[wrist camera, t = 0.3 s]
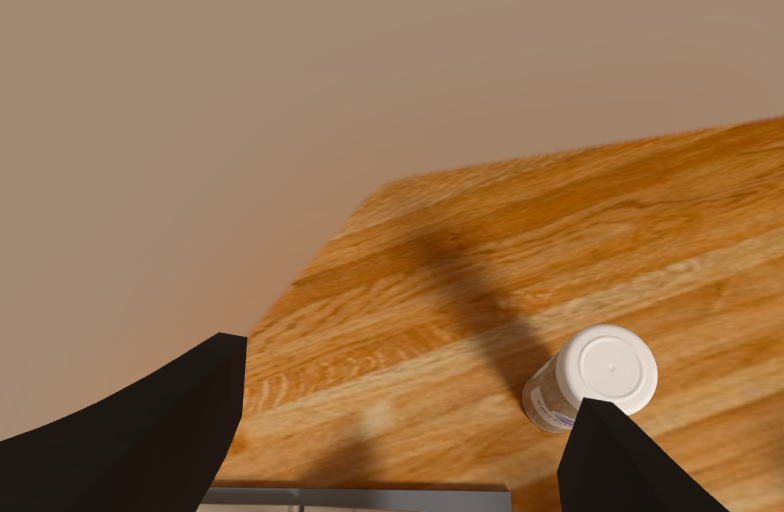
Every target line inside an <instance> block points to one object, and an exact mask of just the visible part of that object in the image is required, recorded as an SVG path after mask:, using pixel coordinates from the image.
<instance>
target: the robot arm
mask: <svg viewBox="0 0 784 512" xmlns="http://www.w3.org/2000/svg"><path fill="white" fill-rule="evenodd" d="M246 350H247V337H243V336H237V335H231V334H225V333H220V332H219V333H217V334H215V335H214V336H212V337H210V338H209V339H207V340H206V341H204V342H202V343H201V344H199V345H197V346H196V347H194V348H193V349H191V350H189V351H188V352H186V353H185V354H183V355H181V356H180V357H178V358H177V359H175V360H173V361H171V362H170V363H168V364H166V365H165V366H163V367H161V368H160V369H158V370H157V371H155V372H153V373H151V374H150V375H148V376H146V377H144V378H142V379H140V380H139V381H137V382H135V383H133V384H131V385H129V386H127V387H126V388H124V389H122V390H120V391H118V392H116V393H114V394H112V395H111V396H109V397H107V398H105V399H103V400H101V401H99V402H97V403H95V404H93V405H90V406H88V407H86V408H84V409H82V410H80V411H77V412H75V413H73V414H70V415H68V416H66V417H63V418H61V419H59V420H56V421H54V422H52V423H49V424H47V425H44V426H42V427H39V428H37V429H34V430H31V431H28V432H25V433H23V434H20V435H17V436H14V437H12V438H9V439H6V440H3V441H0V512H196V511H197V509H198V507H199V505H200V503H201V502H202V500H203V498H204V496H205V494H206V492H207V491H208V489H209V487H210V485H211V483H212V481H213V480H214V478H215V476H216V474H217V472H218V470H219V469H220V467H221V465H222V463H223V461H224V459H225V457H226V455H227V452H228V450H229V447H230V445H231V443H232V440H233V438H234V435H235V432H236V430H237V427H238V425H239V422H240V419H241V417H242V409H243V394H244V379H245V364H246ZM557 476H558V484H559V493H560V500H561V507H562V512H729V511H728V510H727V509H726V508H725V507H724V506H723V505H721V504H720V503H719V502H718V501H717V500H716V499H715V498H713V497H712V496H711V495H710V494H709V493H708V492H707V491H705V490H704V489H703V488H702V487H701V486H700V485H699V484H698V483H697V482H696V481H695V480H693V479H692V478H691V477H690V476H689V475H688V474H687V473H686V472H685V471H684V470H683V469H682V468H681V467H680V466H679V465H678V464H677V463H675V462H674V461H673V460H672V459H671V458H670V457H669V456H668V455H667V454H666V453H665V452H664V451H663V450H662V449H661V448H660V447H659V446H658V445H657V444H656V443H655V442H654V441H653V440H652V439H651V438H650V437H649V436H648V435H647V434H646V433H645V432H644V431H643V430H642V429H641V428H640V427H639V426H638V425H637V424H636V423H634V422H633V421H632V420H631V419H630V418H629V417H628V416H627V415H626V414H625V413H624V412H623V411H622V410H621V409H620V408H618V407H617V406H616V405H615V404H614V403H613V402H609V401H603V400H597V399H592V398H586V397H583V399H582V402H581V405H580V408H579V411H578V413H577V416H576V419H575V422H574V425H573V428H572V430H571V433H570V436H569V439H568V442H567V445H566V447H565V450H564V453H563V456H562V459H561V461H560V464H559V467H558V470H557Z"/></svg>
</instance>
